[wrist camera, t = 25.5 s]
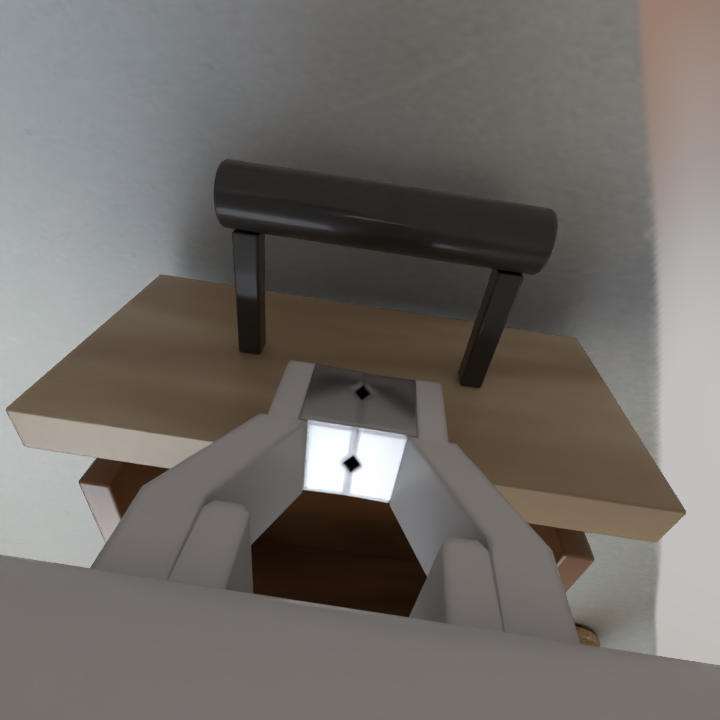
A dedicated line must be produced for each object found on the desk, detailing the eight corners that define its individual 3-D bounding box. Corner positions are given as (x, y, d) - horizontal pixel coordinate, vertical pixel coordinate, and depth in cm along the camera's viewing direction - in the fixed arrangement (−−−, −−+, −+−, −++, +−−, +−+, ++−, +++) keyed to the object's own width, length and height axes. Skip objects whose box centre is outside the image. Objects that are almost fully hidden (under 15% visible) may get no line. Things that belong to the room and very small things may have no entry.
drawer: (132, 114, 11) (-127, 163, 6) (651, 195, 11) (886, 319, 6) (202, 518, 23) (137, 664, 17) (462, 557, 23) (481, 716, 17)
